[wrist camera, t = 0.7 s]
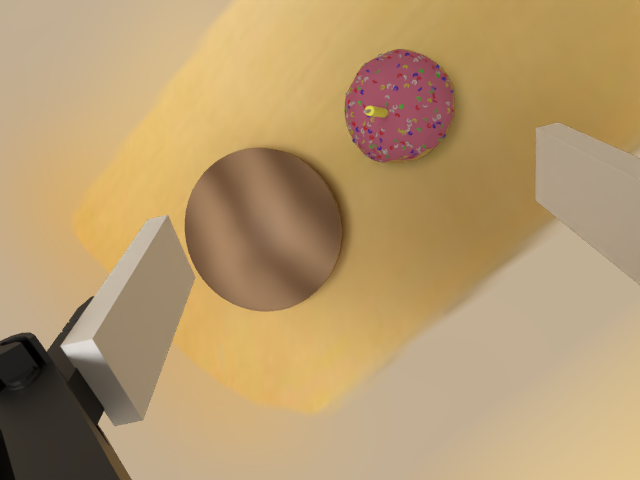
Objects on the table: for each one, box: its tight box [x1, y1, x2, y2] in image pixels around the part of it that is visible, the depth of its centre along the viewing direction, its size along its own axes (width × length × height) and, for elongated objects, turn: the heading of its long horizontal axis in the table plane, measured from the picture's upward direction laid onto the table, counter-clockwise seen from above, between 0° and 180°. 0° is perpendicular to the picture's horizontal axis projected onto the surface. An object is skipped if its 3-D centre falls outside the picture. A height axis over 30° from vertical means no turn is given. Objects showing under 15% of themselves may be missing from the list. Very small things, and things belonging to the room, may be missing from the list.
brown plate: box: [185, 148, 342, 311], centre depth 41 cm, size 15×15×3 cm
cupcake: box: [345, 49, 455, 163], centre depth 33 cm, size 9×8×12 cm
